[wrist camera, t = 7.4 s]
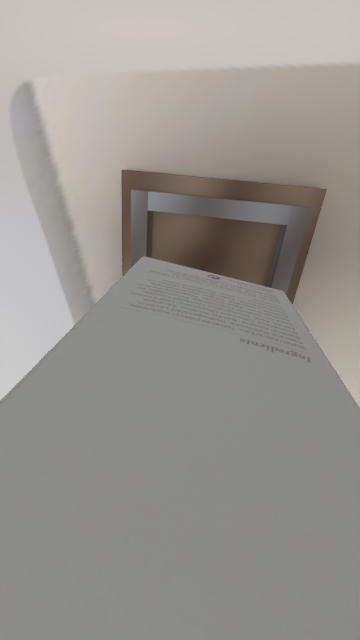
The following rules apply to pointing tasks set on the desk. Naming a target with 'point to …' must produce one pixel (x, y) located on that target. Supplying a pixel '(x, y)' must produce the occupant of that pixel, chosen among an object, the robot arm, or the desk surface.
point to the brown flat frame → (220, 226)
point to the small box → (181, 472)
